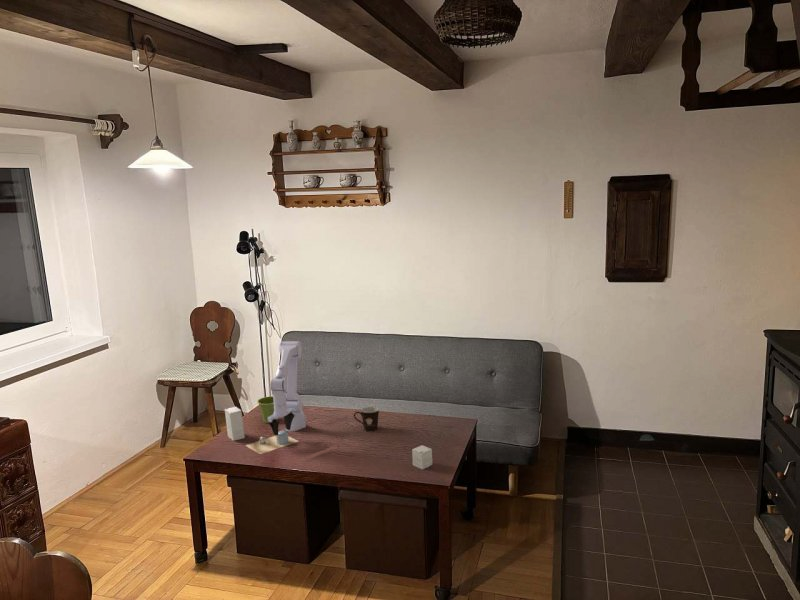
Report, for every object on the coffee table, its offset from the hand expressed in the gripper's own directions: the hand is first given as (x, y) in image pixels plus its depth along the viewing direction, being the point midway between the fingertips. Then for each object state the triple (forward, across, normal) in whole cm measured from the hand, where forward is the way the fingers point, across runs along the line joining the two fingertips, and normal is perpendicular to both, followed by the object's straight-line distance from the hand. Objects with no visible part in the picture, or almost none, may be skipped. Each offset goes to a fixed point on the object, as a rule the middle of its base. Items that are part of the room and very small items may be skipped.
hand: (282, 432), depth 294 cm
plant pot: (+6, -19, -29) cm, 35 cm away
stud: (+5, +5, -7) cm, 11 cm away
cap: (+5, 0, 0) cm, 5 cm away
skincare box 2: (+7, -16, +67) cm, 69 cm away
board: (+6, +3, -4) cm, 8 cm away
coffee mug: (+6, -36, +21) cm, 43 cm away
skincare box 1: (+7, +6, -25) cm, 27 cm away
